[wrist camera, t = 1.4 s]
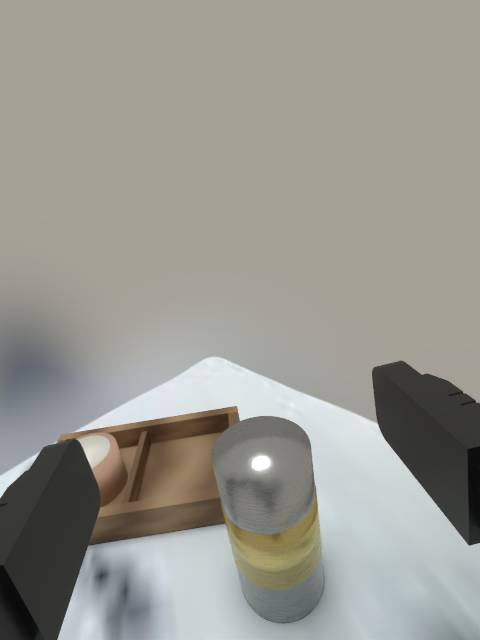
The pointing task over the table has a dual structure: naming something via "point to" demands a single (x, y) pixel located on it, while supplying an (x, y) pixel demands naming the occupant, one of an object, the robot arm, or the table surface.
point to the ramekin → (105, 464)
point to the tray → (164, 475)
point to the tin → (271, 515)
